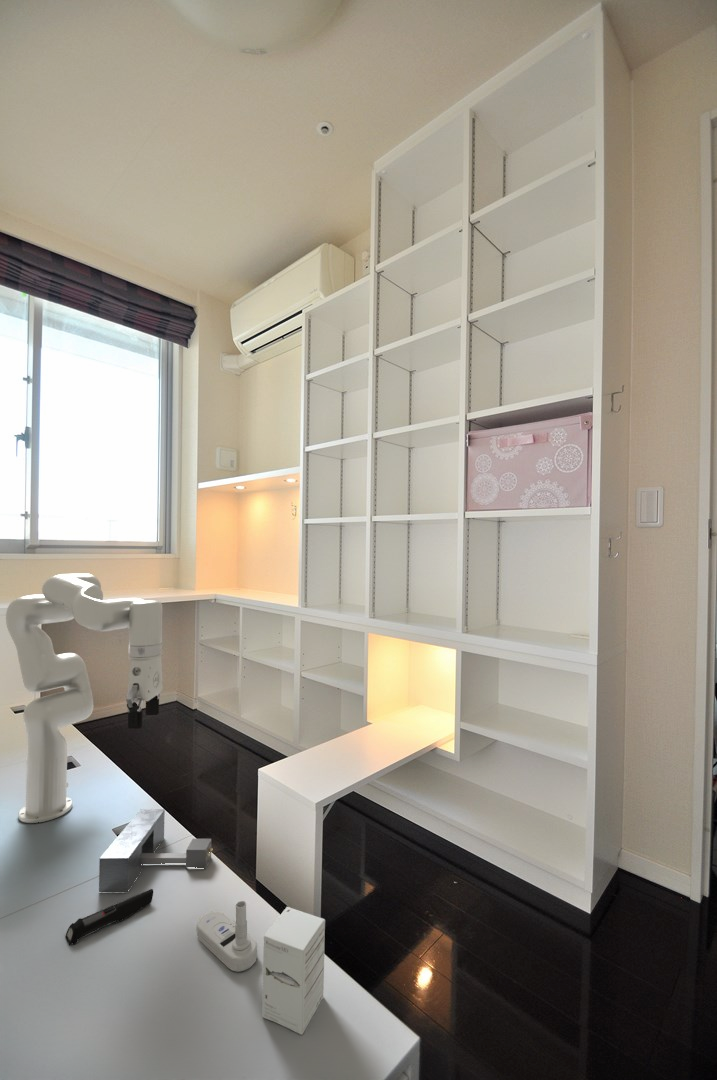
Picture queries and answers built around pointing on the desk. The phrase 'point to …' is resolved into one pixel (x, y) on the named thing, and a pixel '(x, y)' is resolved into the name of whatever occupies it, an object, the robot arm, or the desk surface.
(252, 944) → the electronic device
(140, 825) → the block
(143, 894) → the electric trimmer
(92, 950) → the desk surface
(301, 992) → the supplement box
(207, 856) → the lever
